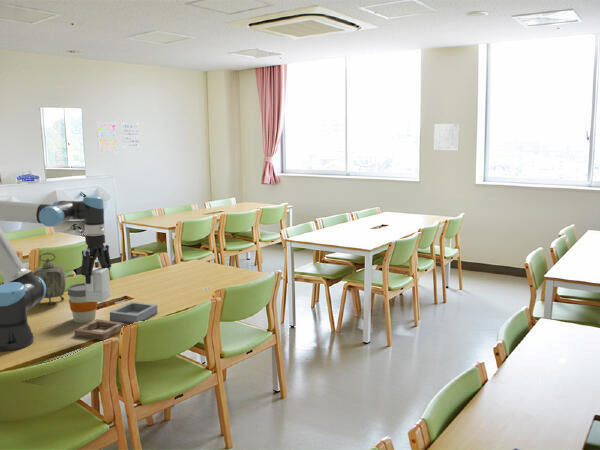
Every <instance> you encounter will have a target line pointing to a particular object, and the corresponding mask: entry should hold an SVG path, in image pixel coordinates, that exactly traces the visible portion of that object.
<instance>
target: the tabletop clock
mask: <svg viewBox="0 0 600 450" xmlns="http://www.w3.org/2000/svg"><path fill="white" fill-rule="evenodd" d="M44 255H45V256H46V255H51V256H53V258H52V259H49V258H46V260H45V259H42V257H43V256H44ZM55 259H56V256H55V254H53V253H52V252H45V253H42V254H40V256H39V260H40V261H41V262H43V263H42V266H38V267H36V268H34V270H33V271H32V273H33V274H34V276H37V277H40V278H41V279H42V280H43V281H44V283H45V285H46V294H45V296H44V298H43V299H48V305H52V304H53V302H52V300H51V299H53V298H58V297H60V300H61V301H64V300H65V297H64V294H65V290H66V284H67V283H66V280H67V278H66V270H65V268H64V267H63V266H62V265H58V264H57V265H54V263H53V261H54V260H55Z"/></svg>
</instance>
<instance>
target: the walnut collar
mask: <svg viewBox="0 0 600 450" xmlns="http://www.w3.org/2000/svg"><path fill="white" fill-rule="evenodd" d="M123 326H125V323H122V322H115V321H110V320H104V319H98V318H97V319H96V318H95V319H94V320H93V321H90V322H87V323H85V324H84V325H82V326H80V327H78V328H75V329H73V330H74V337H79V338H85V339H93V340H99V341H105V340H106V339H108V338H110V337H112V336H114V335H115V334H117V333H119V332H121V331H122V330H121V328H122V327H123ZM97 328H104V329H106V330H103V331H96V330H95V329H97ZM120 330H121V331H120Z"/></svg>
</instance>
